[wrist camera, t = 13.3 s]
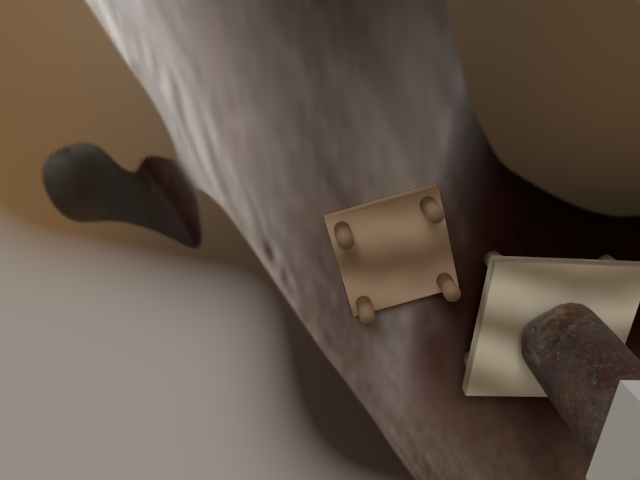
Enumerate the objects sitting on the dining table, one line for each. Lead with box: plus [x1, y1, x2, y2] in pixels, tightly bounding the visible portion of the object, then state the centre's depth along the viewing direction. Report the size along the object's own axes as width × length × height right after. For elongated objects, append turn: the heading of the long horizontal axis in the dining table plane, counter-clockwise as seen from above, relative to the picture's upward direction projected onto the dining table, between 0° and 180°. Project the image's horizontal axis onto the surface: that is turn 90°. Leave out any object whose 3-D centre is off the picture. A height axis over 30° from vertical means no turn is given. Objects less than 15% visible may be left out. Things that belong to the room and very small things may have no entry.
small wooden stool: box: [462, 250, 640, 397], centre depth 50 cm, size 14×14×4 cm
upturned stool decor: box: [324, 183, 461, 325], centre depth 46 cm, size 10×10×4 cm
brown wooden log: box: [521, 302, 640, 461], centre depth 39 cm, size 8×7×20 cm
